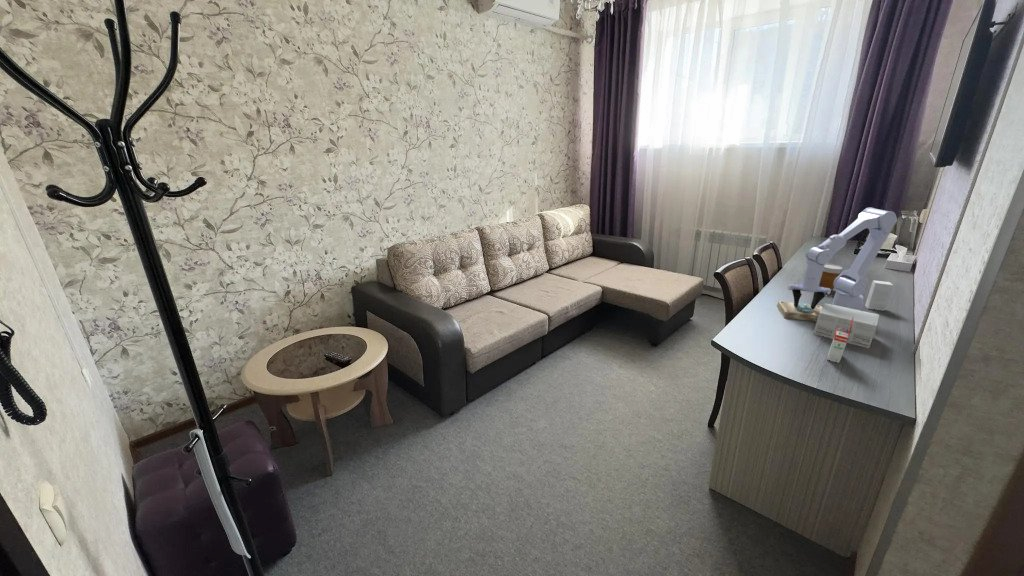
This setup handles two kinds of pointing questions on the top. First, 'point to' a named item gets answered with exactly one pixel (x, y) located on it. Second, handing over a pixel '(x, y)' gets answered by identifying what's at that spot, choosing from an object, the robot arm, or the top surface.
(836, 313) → the supplement box
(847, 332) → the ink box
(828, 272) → the orange jar with lid
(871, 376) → the top surface
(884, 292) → the skincare box
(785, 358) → the top surface
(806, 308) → the servo block
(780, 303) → the plate
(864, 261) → the robot arm
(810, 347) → the top surface
